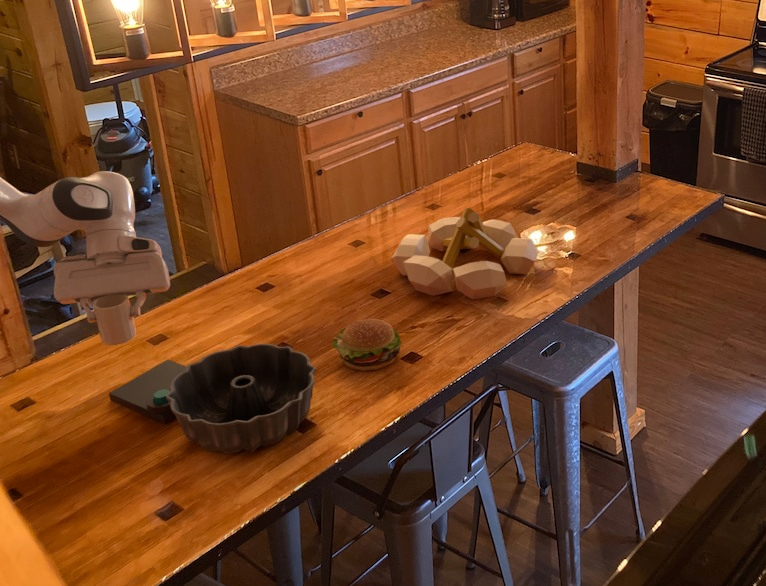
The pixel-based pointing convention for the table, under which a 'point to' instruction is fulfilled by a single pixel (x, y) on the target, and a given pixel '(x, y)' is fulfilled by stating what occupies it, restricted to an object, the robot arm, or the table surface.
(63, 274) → the robot arm
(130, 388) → the scale
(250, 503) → the table surface
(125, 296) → the white cup
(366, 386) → the table surface
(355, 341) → the food
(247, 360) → the bundt pan
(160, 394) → the button
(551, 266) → the table surface
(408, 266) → the campfire
